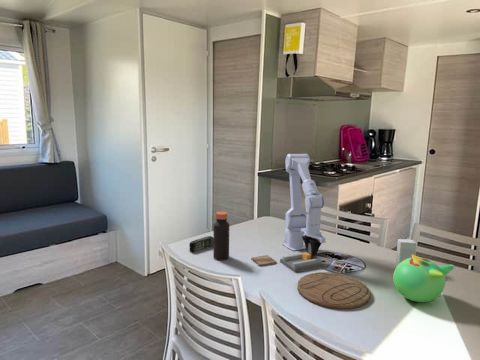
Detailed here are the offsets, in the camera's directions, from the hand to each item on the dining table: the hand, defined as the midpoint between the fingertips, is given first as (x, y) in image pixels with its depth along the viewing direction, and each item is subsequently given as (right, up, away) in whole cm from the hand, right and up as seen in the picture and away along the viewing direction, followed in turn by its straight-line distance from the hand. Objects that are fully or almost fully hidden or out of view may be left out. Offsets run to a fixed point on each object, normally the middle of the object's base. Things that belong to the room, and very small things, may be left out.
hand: (311, 253), depth 155 cm
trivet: (+3, -9, -24) cm, 26 cm away
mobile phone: (-47, -1, +16) cm, 50 cm away
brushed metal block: (0, -2, +1) cm, 2 cm away
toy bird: (+31, -10, -28) cm, 43 cm away
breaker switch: (-2, -2, -1) cm, 3 cm away
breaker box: (-5, -4, -1) cm, 6 cm away
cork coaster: (-20, -3, +1) cm, 20 cm away
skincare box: (+37, -5, -4) cm, 38 cm away
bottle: (-38, -3, +5) cm, 39 cm away
